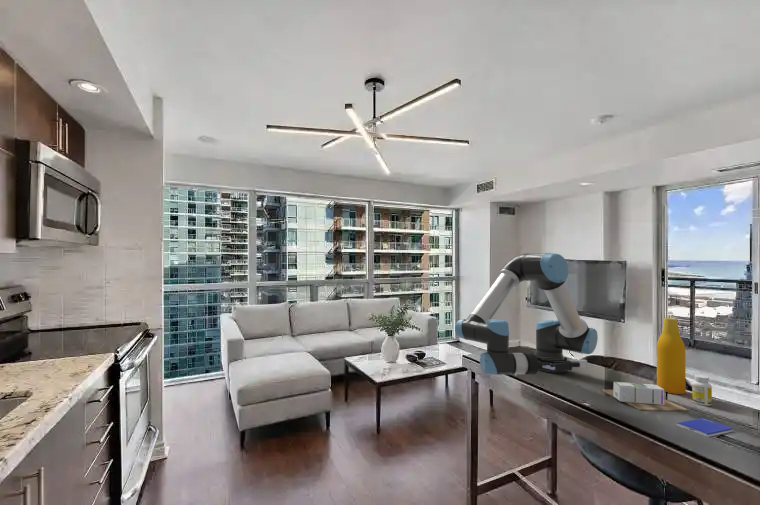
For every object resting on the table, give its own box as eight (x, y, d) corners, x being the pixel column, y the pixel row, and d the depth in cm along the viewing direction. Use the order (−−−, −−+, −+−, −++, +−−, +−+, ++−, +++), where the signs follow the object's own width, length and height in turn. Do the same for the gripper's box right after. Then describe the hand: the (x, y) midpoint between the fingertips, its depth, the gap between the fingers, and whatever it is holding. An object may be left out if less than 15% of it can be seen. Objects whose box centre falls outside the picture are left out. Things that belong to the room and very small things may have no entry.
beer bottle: (687, 391, 149) (686, 319, 150) (684, 396, 142) (684, 321, 143) (658, 385, 155) (658, 316, 156) (654, 390, 149) (654, 318, 150)
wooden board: (640, 410, 126) (640, 408, 126) (601, 390, 146) (601, 389, 146) (687, 410, 127) (687, 409, 127) (642, 391, 147) (642, 389, 147)
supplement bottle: (707, 402, 137) (707, 375, 137) (715, 407, 132) (714, 379, 132) (689, 400, 138) (689, 373, 139) (696, 404, 133) (696, 377, 134)
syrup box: (619, 401, 133) (665, 406, 130) (619, 385, 133) (665, 389, 130) (612, 396, 138) (656, 400, 135) (613, 380, 138) (656, 384, 136)
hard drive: (701, 417, 119) (676, 422, 115) (733, 427, 111) (707, 433, 107) (701, 422, 119) (676, 427, 115) (733, 433, 111) (707, 438, 107)
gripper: (515, 369, 141) (575, 369, 142) (532, 379, 128) (597, 379, 129) (515, 349, 141) (575, 349, 142) (532, 357, 128) (597, 358, 129)
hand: (585, 363), depth 136 cm, fingers closed
